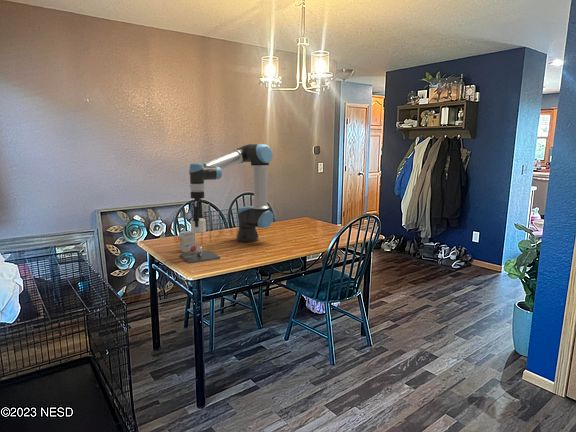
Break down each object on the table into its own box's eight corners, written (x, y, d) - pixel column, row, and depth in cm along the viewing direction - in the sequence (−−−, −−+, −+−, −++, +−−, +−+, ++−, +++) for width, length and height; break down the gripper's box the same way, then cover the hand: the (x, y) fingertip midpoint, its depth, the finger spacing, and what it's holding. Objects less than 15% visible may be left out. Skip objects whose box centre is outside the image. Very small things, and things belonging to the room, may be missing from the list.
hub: (209, 251, 238) (208, 241, 237) (220, 258, 223) (220, 248, 222) (179, 255, 229) (179, 245, 228) (189, 263, 213) (188, 252, 212)
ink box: (191, 248, 246) (190, 230, 244) (196, 249, 242) (195, 231, 240) (179, 250, 240) (178, 232, 238) (183, 252, 236) (182, 233, 234)
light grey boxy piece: (192, 229, 227) (192, 217, 225) (206, 229, 227) (206, 217, 226) (190, 232, 219) (189, 219, 218) (204, 232, 219) (204, 219, 218)
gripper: (194, 189, 229) (195, 227, 233) (186, 193, 209) (188, 234, 212) (207, 189, 230) (207, 227, 233) (200, 193, 209) (202, 234, 213)
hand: (198, 230), depth 223 cm, fingers closed on light grey boxy piece, 8 cm apart
